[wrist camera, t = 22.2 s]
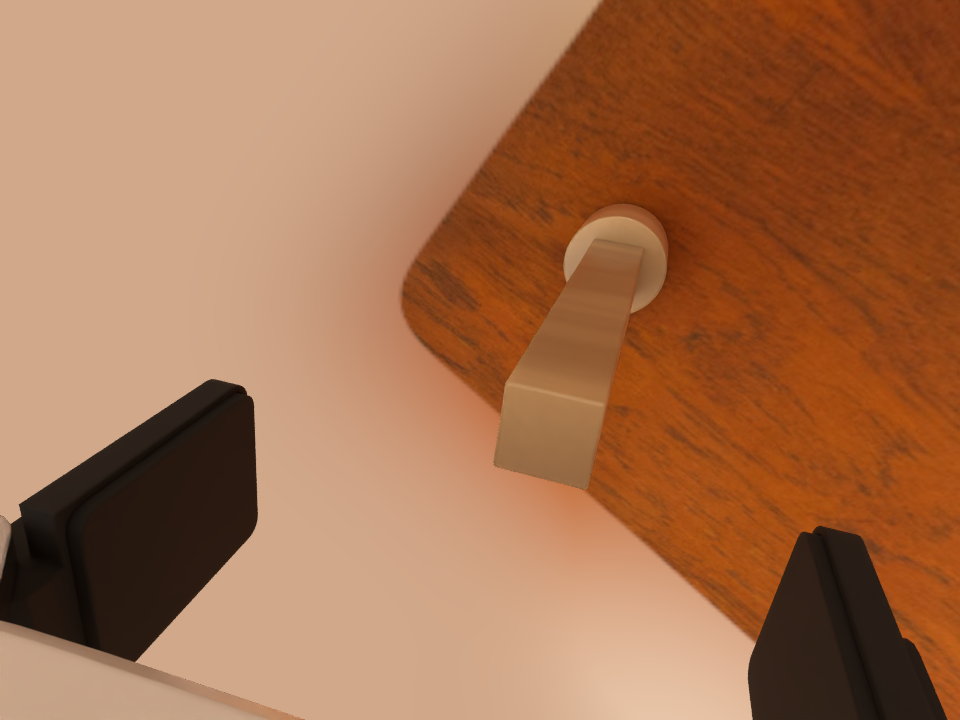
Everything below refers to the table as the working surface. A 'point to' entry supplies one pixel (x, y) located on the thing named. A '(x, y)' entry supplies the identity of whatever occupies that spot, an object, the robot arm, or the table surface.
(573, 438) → the stirrer
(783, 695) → the robot arm
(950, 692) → the table surface
